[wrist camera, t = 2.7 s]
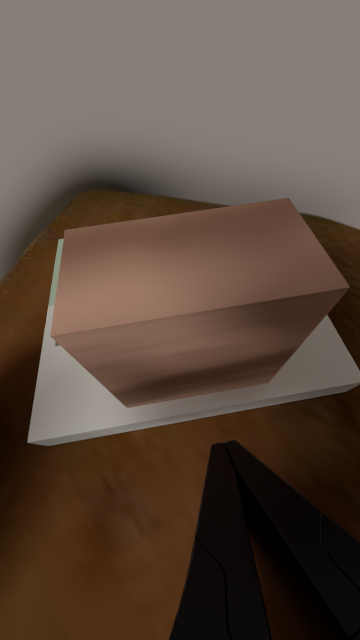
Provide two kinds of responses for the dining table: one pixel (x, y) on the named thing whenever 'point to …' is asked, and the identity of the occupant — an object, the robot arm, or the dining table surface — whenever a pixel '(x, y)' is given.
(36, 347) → the dining table surface
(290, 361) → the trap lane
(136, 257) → the terracotta block
